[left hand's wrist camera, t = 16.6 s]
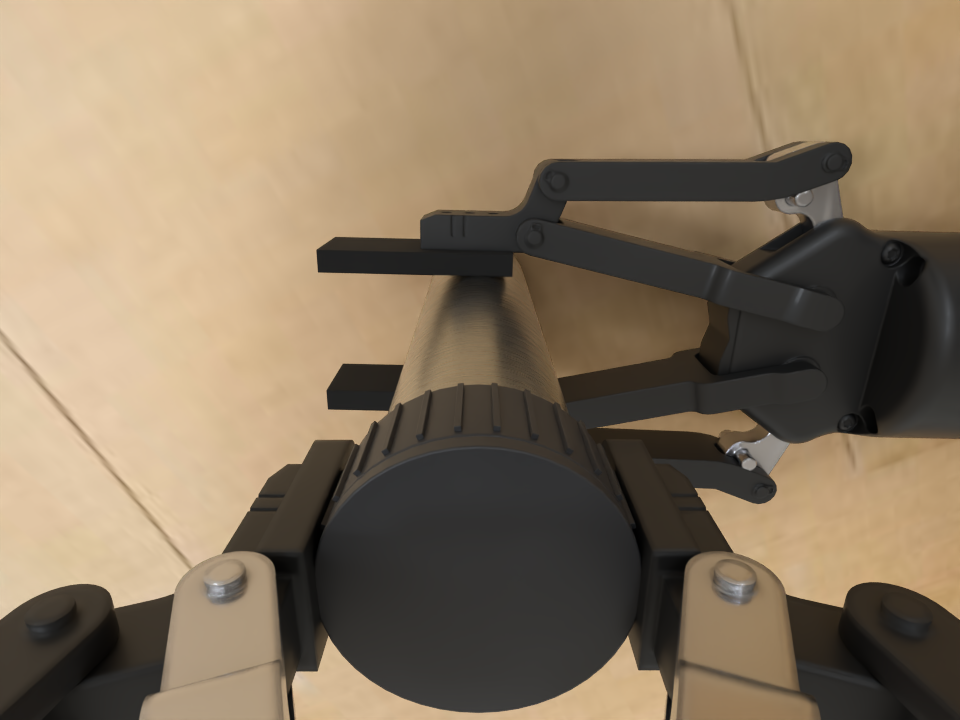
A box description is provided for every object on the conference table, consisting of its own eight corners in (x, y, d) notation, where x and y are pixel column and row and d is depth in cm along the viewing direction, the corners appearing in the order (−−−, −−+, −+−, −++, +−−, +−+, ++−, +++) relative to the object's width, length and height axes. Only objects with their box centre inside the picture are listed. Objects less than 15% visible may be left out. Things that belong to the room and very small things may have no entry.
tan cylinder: (522, 329, 29) (599, 669, 10) (433, 327, 29) (352, 666, 10) (526, 239, 27) (624, 451, 9) (432, 237, 27) (336, 447, 9)
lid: (627, 379, 10) (665, 441, 8) (606, 614, 12) (633, 716, 10) (328, 380, 10) (288, 442, 8) (351, 615, 12) (324, 717, 10)
